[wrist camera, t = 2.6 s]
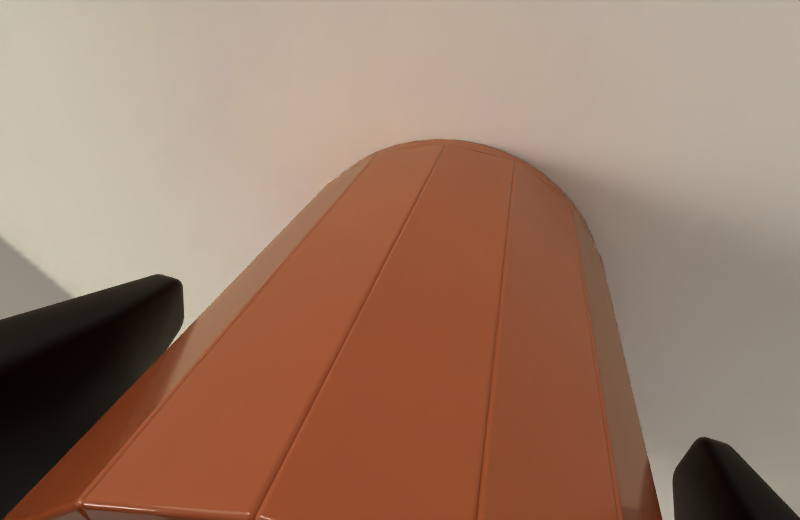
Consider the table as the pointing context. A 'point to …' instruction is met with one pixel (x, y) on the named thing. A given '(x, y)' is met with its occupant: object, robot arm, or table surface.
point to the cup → (386, 368)
